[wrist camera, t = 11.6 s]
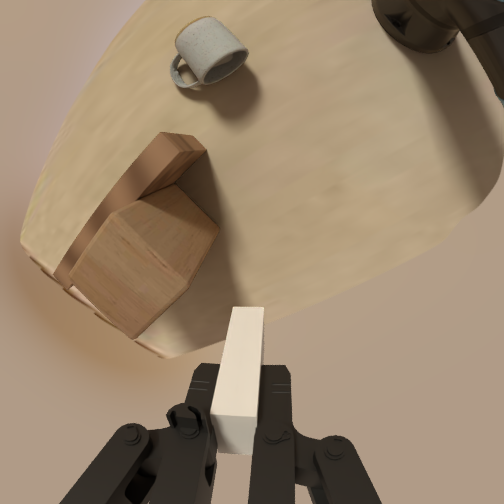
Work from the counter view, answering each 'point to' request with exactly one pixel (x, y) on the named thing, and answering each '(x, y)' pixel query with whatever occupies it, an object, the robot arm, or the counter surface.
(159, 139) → the walnut board
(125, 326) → the wooden block
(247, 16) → the counter surface
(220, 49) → the ceramic mug
